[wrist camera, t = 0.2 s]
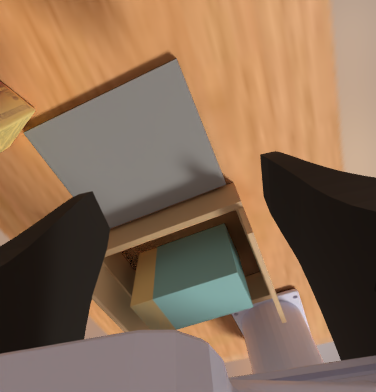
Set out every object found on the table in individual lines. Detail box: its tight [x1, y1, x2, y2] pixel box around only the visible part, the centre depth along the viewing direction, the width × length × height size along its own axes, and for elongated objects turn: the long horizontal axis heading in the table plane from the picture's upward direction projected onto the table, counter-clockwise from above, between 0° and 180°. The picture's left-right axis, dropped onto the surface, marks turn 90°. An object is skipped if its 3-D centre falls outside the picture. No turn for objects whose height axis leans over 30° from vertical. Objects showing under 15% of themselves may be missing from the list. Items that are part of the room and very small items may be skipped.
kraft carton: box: [92, 183, 287, 332], centre depth 24 cm, size 12×13×6 cm
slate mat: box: [24, 58, 226, 229], centre depth 20 cm, size 10×12×1 cm
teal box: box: [130, 223, 253, 330], centre depth 24 cm, size 4×9×6 cm, turn 113°
